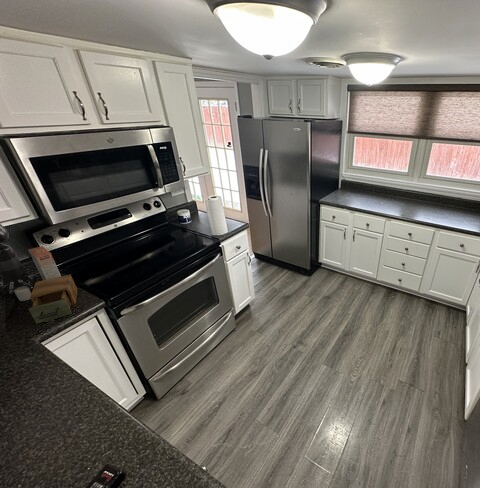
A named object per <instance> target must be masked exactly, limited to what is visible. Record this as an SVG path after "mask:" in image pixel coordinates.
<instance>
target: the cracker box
mask: <svg viewBox="0 0 480 488" xmlns="http://www.w3.org/2000/svg"><path fill="white" fill-rule="evenodd" d="M27 251H28V253H29V255H30V257H31V258H32V261H33V263H34V265H35V267H36V270H37V271H38V273H39V275H40V277H41V280H42V281H43V280H47V279H52V278H56V277H61V276H62V275H61V272H60V270H59V268H58V265H57V264H56V261H55V260H54V256H53V255H52V253H51V252H50V251H49V250H48V249H47V248H45V246H43V245H42V246H38V247H33V248H29V249H27Z"/></svg>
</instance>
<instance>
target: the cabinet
mask: <svg viewBox="0 0 480 488" xmlns="http://www.w3.org/2000/svg"><path fill="white" fill-rule="evenodd" d="M63 290H67V292H68V294H69V296H70V299H71V306H74V305H76V304H77V297H78V288H77V285H76V283H75V281H74V279H73V276H72V274H70V273H69V274H66V275H61V277H56V278H52V279H47V280H43V279H42V280H38V282H36V283H35V286H34V288H33V291H32V294H31V296H30V298H31V299H30V300H31V302H32V304H33V303H34V300H35V298H36V297H39V296H43V295H47V294H51V293H55V292H59V291H63Z"/></svg>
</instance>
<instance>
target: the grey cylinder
mask: <svg viewBox="0 0 480 488" xmlns="http://www.w3.org/2000/svg"><path fill="white" fill-rule="evenodd" d="M14 292H15V294H16V296H17V297H18V299H17V300H18V301H19V302H25V301H29V300H31V298H30V296H31V294H32V293H31V291H30V289H29V288H28V287H26V286H24V285H21V286H19V287H16V288H14Z"/></svg>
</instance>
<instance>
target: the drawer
mask: <svg viewBox="0 0 480 488" xmlns="http://www.w3.org/2000/svg"><path fill="white" fill-rule="evenodd" d="M71 306H72V305H71V299H70V296H69V294H68V292H67V290H63V291H59V292H55V293H51V294H47V295H43V296H39V297H36V298H35V300H34V303H33V302H32V307H29V308H28V311H29V313H30V315H31V316H32V318H33V320H34V321H35V323H36V325H38V324H41V323H44V322H48V321H51V320H52V321H53V320H55V319H58V318H62V317H67V316H69V315H72V312H73V311H72V310H71Z"/></svg>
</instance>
